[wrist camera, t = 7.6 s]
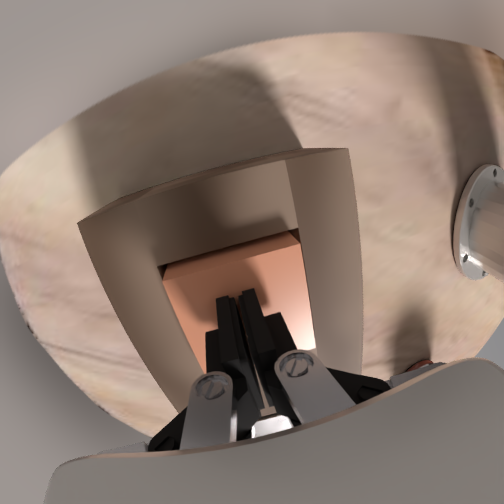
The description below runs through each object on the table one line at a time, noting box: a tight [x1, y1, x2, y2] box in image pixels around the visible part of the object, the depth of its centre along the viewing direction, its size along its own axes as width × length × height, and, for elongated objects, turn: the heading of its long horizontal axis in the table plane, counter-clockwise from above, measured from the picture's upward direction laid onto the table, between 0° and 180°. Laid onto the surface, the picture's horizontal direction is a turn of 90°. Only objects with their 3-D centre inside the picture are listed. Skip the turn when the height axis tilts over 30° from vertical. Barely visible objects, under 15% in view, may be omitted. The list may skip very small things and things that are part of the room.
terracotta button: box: [162, 230, 316, 374], centre depth 14 cm, size 6×6×5 cm
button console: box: [77, 148, 363, 416], centre depth 17 cm, size 12×24×6 cm, turn 13°
